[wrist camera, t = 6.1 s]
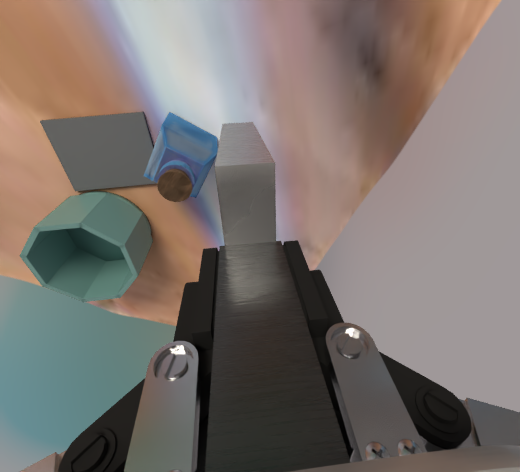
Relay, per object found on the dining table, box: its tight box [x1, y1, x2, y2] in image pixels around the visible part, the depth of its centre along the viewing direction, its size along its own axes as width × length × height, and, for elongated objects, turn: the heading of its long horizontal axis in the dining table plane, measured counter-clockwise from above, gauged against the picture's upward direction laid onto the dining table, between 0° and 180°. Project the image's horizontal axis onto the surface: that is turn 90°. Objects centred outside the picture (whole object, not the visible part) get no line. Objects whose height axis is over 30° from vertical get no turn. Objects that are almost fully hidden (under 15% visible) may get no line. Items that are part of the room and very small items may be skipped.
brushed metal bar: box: [205, 122, 351, 472], centre depth 12 cm, size 2×9×18 cm, turn 3°
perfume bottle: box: [144, 112, 218, 202], centre depth 29 cm, size 6×6×12 cm
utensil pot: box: [20, 191, 153, 302], centre depth 36 cm, size 12×12×9 cm
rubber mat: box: [40, 112, 156, 191], centre depth 34 cm, size 12×9×1 cm
